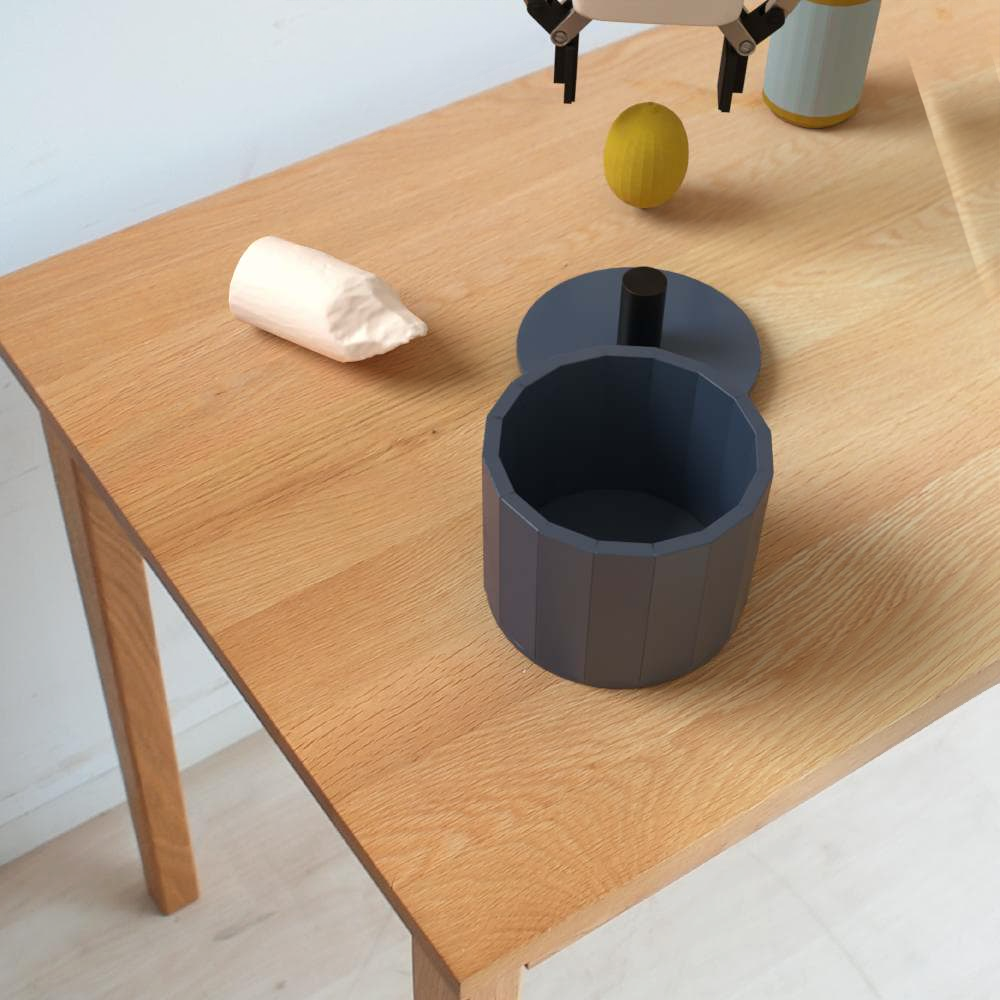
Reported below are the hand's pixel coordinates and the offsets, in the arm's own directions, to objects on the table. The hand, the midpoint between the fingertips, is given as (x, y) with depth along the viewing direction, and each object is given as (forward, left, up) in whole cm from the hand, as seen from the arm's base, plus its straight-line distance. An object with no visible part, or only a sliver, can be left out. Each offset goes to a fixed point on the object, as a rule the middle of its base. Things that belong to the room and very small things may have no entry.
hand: (646, 95), depth 91 cm
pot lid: (0, +15, -8) cm, 17 cm away
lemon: (0, 0, -9) cm, 9 cm away
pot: (+1, +32, -9) cm, 33 cm away
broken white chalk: (+18, +15, -9) cm, 25 cm away
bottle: (-12, -13, -9) cm, 20 cm away
